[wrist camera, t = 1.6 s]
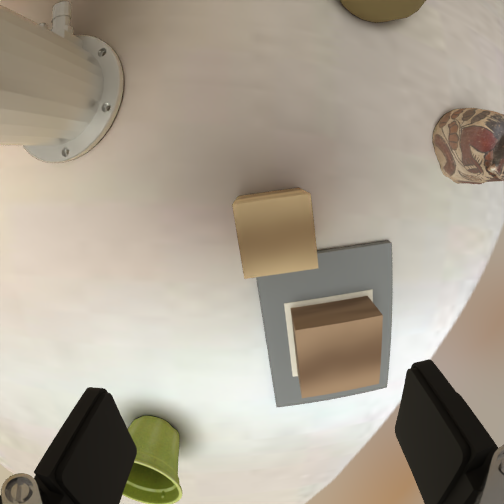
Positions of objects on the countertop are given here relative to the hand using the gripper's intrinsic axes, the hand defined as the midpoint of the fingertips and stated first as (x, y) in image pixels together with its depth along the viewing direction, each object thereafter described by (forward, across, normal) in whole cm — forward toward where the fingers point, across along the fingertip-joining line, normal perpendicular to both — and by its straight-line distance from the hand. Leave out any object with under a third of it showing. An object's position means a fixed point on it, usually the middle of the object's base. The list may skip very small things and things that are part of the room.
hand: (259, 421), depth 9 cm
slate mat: (+19, -6, +8) cm, 22 cm away
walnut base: (+18, -6, +8) cm, 21 cm away
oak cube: (+19, -2, -2) cm, 19 cm away
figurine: (+19, -20, -8) cm, 29 cm away
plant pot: (+19, +15, +21) cm, 32 cm away
